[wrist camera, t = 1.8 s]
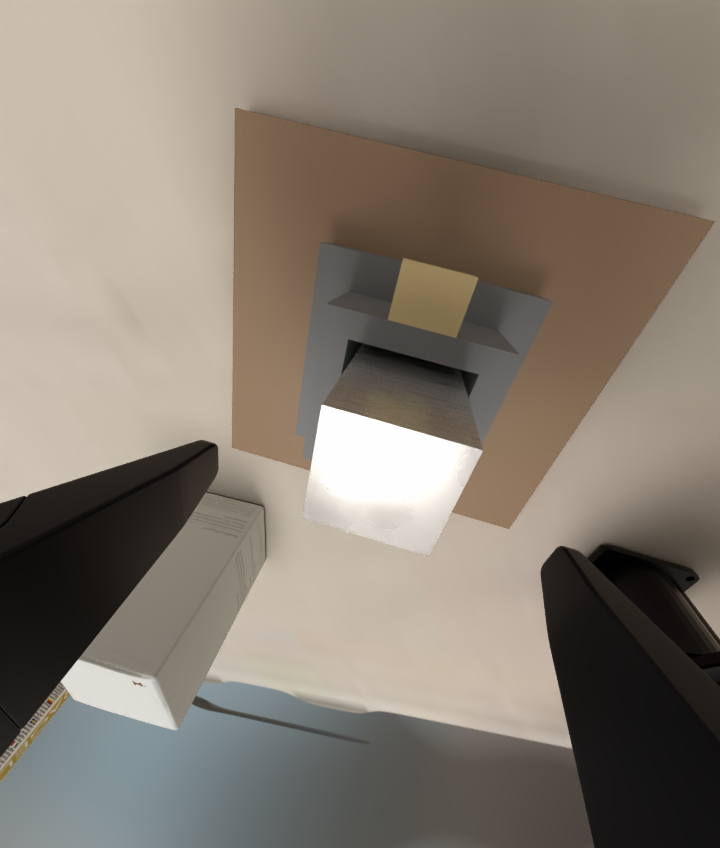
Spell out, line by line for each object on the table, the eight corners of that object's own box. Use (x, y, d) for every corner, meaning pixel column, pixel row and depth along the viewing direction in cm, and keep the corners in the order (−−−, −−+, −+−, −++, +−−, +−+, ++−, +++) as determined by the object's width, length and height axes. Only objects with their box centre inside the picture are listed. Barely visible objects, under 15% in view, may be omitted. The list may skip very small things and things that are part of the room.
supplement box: (184, 485, 27) (23, 642, 16) (266, 505, 27) (155, 683, 16) (195, 542, 31) (69, 702, 20) (267, 561, 30) (177, 737, 19)
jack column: (454, 342, 16) (486, 449, 7) (428, 411, 18) (429, 558, 10) (376, 321, 16) (319, 402, 8) (359, 392, 18) (300, 518, 10)
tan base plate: (692, 223, 13) (909, 203, 7) (505, 516, 23) (534, 613, 17) (248, 117, 14) (121, 24, 8) (240, 438, 24) (176, 503, 18)
